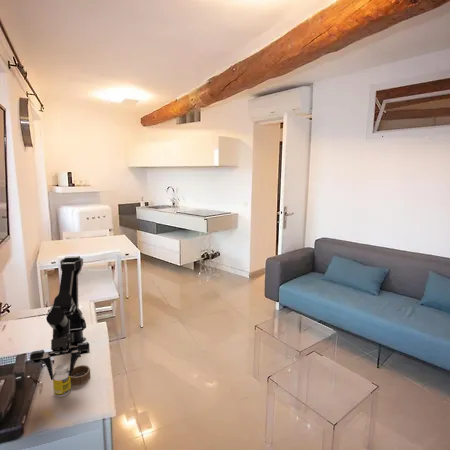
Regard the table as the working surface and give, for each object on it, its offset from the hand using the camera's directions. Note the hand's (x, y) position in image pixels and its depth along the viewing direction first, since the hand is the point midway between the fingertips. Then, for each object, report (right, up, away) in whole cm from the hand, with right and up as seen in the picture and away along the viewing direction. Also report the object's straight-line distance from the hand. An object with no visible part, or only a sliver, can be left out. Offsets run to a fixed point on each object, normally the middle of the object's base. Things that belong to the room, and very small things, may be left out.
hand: (61, 377), depth 109 cm
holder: (+2, -5, +10) cm, 11 cm away
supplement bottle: (-1, -6, +3) cm, 7 cm away
